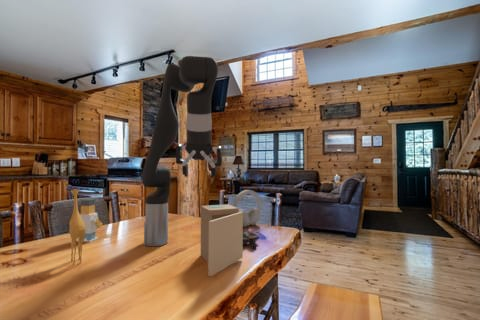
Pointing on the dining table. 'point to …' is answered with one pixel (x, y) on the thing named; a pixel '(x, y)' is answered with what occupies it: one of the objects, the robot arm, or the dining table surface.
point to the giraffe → (76, 228)
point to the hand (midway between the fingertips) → (199, 176)
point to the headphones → (253, 213)
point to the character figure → (90, 219)
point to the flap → (225, 242)
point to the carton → (208, 215)
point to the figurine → (250, 238)
